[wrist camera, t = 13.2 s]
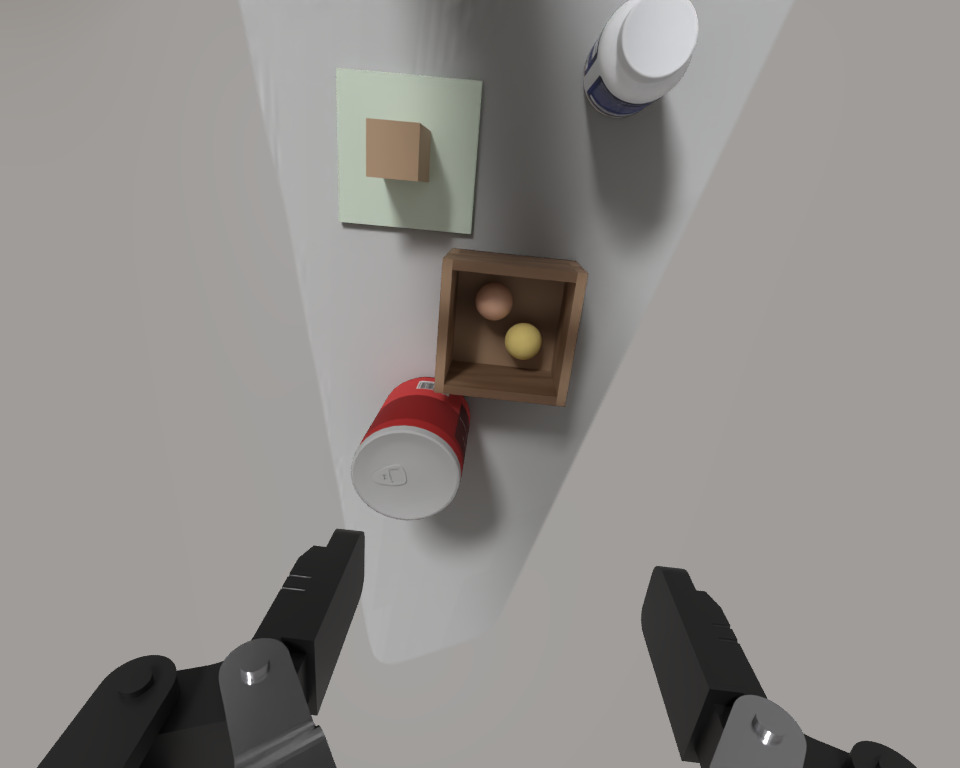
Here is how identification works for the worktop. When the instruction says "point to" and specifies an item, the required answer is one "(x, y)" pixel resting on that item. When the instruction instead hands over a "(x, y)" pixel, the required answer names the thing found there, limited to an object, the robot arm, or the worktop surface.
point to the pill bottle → (640, 55)
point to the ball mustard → (523, 341)
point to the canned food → (413, 452)
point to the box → (508, 326)
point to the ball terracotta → (494, 301)
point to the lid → (407, 149)
